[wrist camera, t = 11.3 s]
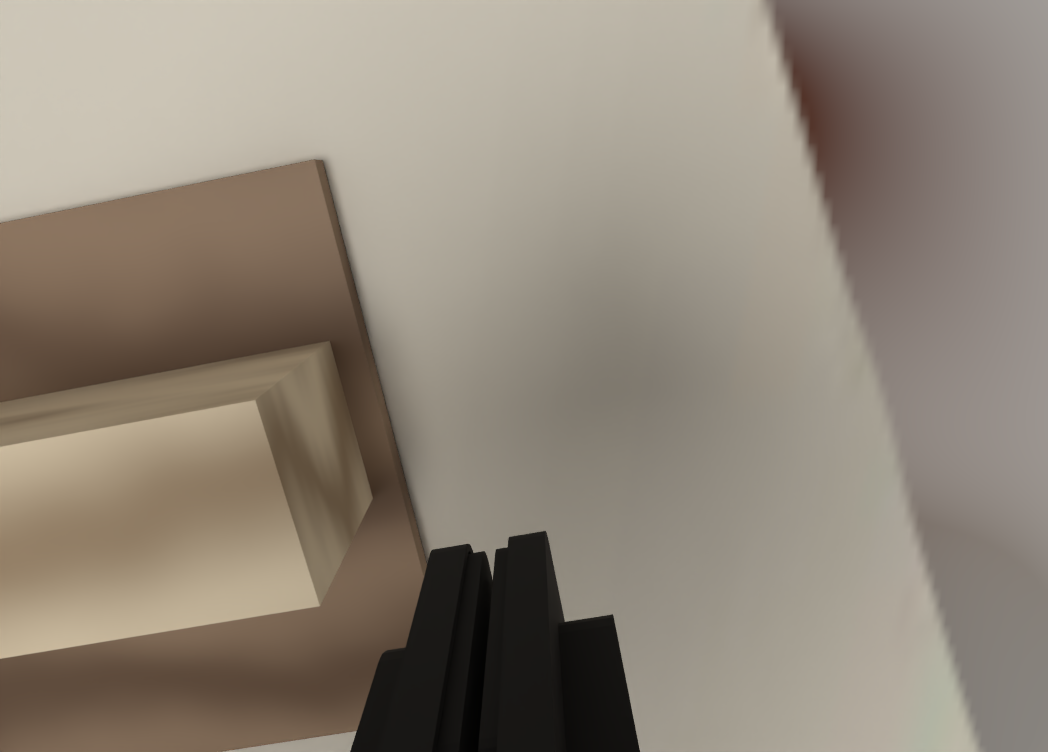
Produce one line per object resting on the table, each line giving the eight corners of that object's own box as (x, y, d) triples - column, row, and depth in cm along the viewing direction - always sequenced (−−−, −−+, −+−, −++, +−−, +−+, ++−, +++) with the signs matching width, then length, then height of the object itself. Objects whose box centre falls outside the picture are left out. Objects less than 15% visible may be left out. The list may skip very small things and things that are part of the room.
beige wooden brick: (373, 497, 23) (320, 606, 17) (36, 556, 23) (-127, 679, 17) (329, 340, 21) (254, 400, 15) (-30, 408, 22) (-231, 488, 16)
